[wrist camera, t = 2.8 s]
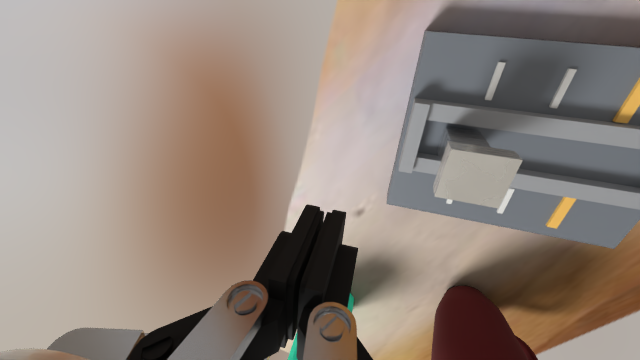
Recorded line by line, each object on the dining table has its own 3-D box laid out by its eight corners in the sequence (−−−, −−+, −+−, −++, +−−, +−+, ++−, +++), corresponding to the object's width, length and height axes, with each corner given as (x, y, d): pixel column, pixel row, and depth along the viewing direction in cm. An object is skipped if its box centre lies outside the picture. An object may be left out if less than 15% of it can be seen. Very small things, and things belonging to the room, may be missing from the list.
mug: (546, 294, 28) (607, 411, 20) (504, 335, 32) (539, 445, 24) (442, 262, 29) (458, 358, 21) (415, 306, 34) (419, 400, 25)
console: (424, 30, 20) (428, 31, 17) (738, 55, 16) (812, 62, 13) (387, 192, 27) (385, 213, 24) (599, 232, 23) (627, 262, 21)
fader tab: (438, 117, 20) (450, 149, 15) (491, 124, 19) (522, 160, 14) (427, 156, 22) (434, 196, 17) (475, 164, 21) (498, 208, 16)
